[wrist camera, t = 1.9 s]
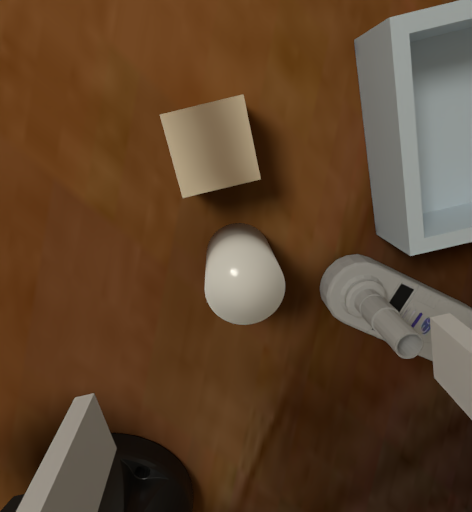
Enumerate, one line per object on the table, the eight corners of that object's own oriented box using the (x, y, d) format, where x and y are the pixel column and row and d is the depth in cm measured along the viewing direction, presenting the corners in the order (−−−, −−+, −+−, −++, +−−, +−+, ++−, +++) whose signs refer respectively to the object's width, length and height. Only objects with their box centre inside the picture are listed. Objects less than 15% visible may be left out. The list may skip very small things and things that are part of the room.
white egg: (215, 289, 31) (215, 332, 25) (199, 231, 30) (195, 260, 23) (275, 275, 31) (291, 314, 25) (262, 216, 30) (277, 241, 23)
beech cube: (187, 186, 29) (182, 198, 24) (169, 117, 27) (159, 114, 23) (253, 171, 29) (261, 179, 24) (238, 100, 27) (243, 94, 22)
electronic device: (533, 440, 26) (348, 366, 23) (446, 358, 35) (306, 297, 32) (585, 378, 25) (397, 290, 22) (481, 310, 34) (338, 241, 31)
